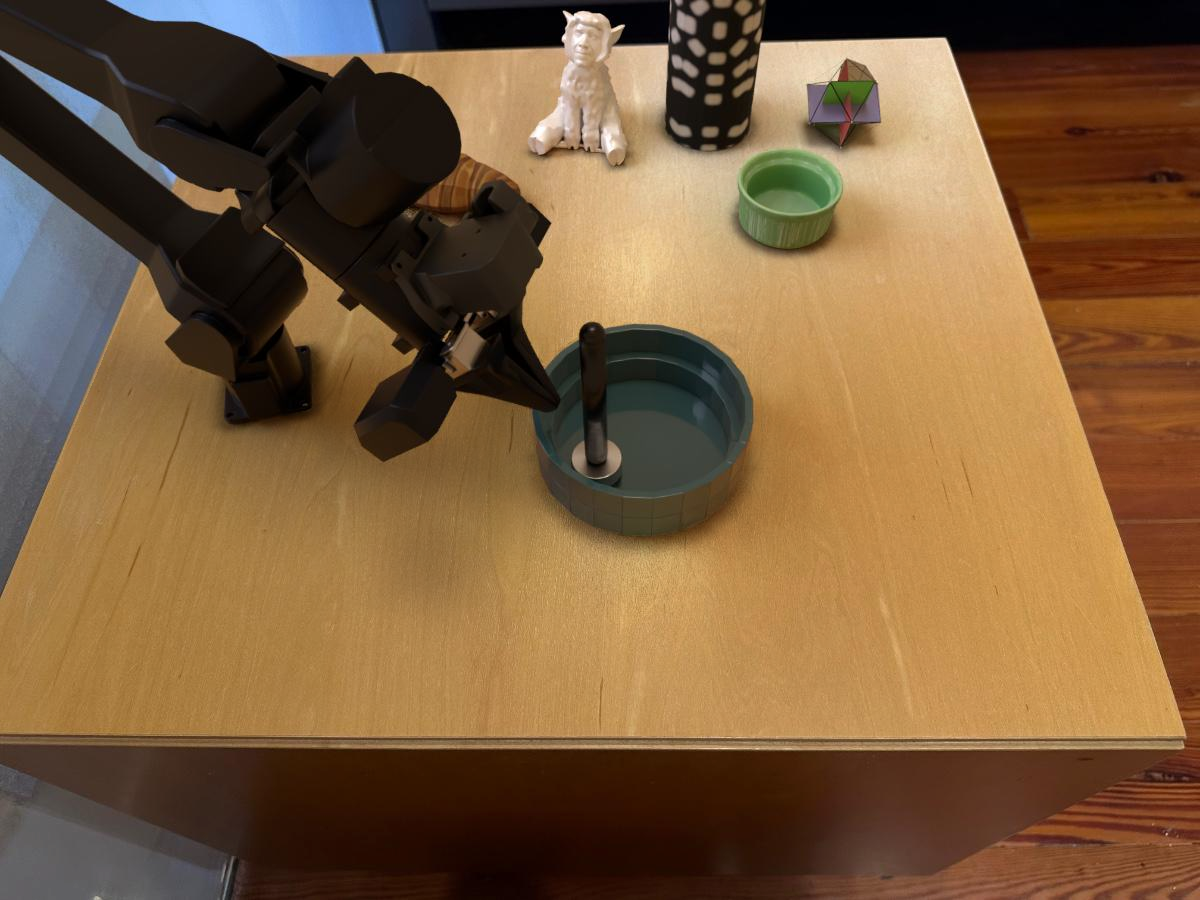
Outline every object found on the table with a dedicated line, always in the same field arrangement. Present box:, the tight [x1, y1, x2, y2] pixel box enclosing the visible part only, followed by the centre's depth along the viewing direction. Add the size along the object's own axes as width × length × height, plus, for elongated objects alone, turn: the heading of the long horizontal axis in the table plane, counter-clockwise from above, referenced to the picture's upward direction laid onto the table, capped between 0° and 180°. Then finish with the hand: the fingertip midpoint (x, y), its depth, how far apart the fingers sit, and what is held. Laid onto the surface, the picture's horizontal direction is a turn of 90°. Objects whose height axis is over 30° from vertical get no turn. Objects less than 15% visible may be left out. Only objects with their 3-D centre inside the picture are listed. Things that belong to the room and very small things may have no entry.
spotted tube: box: [664, 0, 767, 152], centre depth 82 cm, size 8×8×20 cm
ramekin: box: [737, 147, 844, 250], centre depth 80 cm, size 9×9×4 cm
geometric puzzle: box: [806, 57, 883, 149], centre depth 86 cm, size 7×7×8 cm
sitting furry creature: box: [527, 10, 628, 167], centre depth 85 cm, size 10×9×12 cm
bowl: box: [531, 323, 755, 538], centre depth 65 cm, size 15×15×6 cm
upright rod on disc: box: [571, 321, 622, 486], centre depth 59 cm, size 4×4×15 cm
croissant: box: [411, 152, 522, 214], centre depth 82 cm, size 14×7×5 cm, turn 81°
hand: (555, 407), depth 60 cm, fingers closed
